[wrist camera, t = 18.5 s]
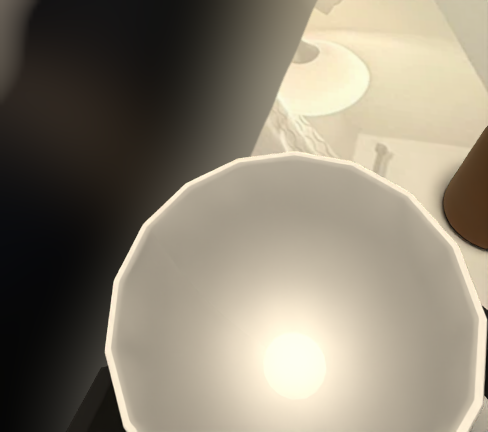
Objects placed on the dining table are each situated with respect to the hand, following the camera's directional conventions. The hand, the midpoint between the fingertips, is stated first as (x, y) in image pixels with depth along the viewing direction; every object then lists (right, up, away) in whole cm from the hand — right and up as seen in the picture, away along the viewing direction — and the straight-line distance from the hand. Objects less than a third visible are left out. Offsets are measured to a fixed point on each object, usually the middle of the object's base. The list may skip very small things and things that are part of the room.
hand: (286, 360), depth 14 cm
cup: (+2, -6, +10) cm, 12 cm away
